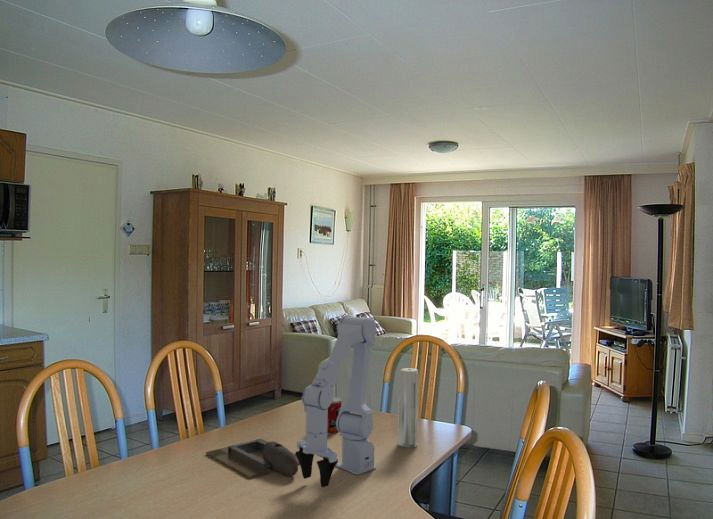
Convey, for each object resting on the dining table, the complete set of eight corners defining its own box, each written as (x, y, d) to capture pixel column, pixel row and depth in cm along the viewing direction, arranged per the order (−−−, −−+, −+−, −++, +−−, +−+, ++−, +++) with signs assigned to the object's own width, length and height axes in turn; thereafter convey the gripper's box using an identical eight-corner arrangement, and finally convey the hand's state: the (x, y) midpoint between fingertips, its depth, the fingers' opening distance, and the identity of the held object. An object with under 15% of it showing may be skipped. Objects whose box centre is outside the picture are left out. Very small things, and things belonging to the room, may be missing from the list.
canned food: (332, 434, 195) (332, 402, 195) (314, 429, 200) (315, 399, 200) (345, 429, 201) (346, 398, 201) (328, 425, 206) (329, 395, 206)
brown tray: (307, 461, 168) (307, 451, 168) (249, 478, 154) (250, 468, 154) (260, 441, 186) (261, 432, 186) (205, 454, 173) (206, 445, 173)
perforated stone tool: (303, 477, 156) (304, 452, 156) (287, 482, 153) (288, 456, 153) (276, 461, 168) (276, 438, 168) (260, 465, 165) (261, 442, 165)
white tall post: (417, 441, 188) (418, 367, 188) (417, 448, 182) (418, 371, 182) (398, 441, 189) (399, 366, 189) (397, 447, 182) (398, 370, 182)
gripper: (288, 427, 152) (287, 477, 152) (322, 440, 141) (321, 494, 141) (308, 422, 156) (308, 471, 156) (343, 435, 146) (342, 487, 146)
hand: (315, 481), depth 149 cm, fingers open, 7 cm apart
